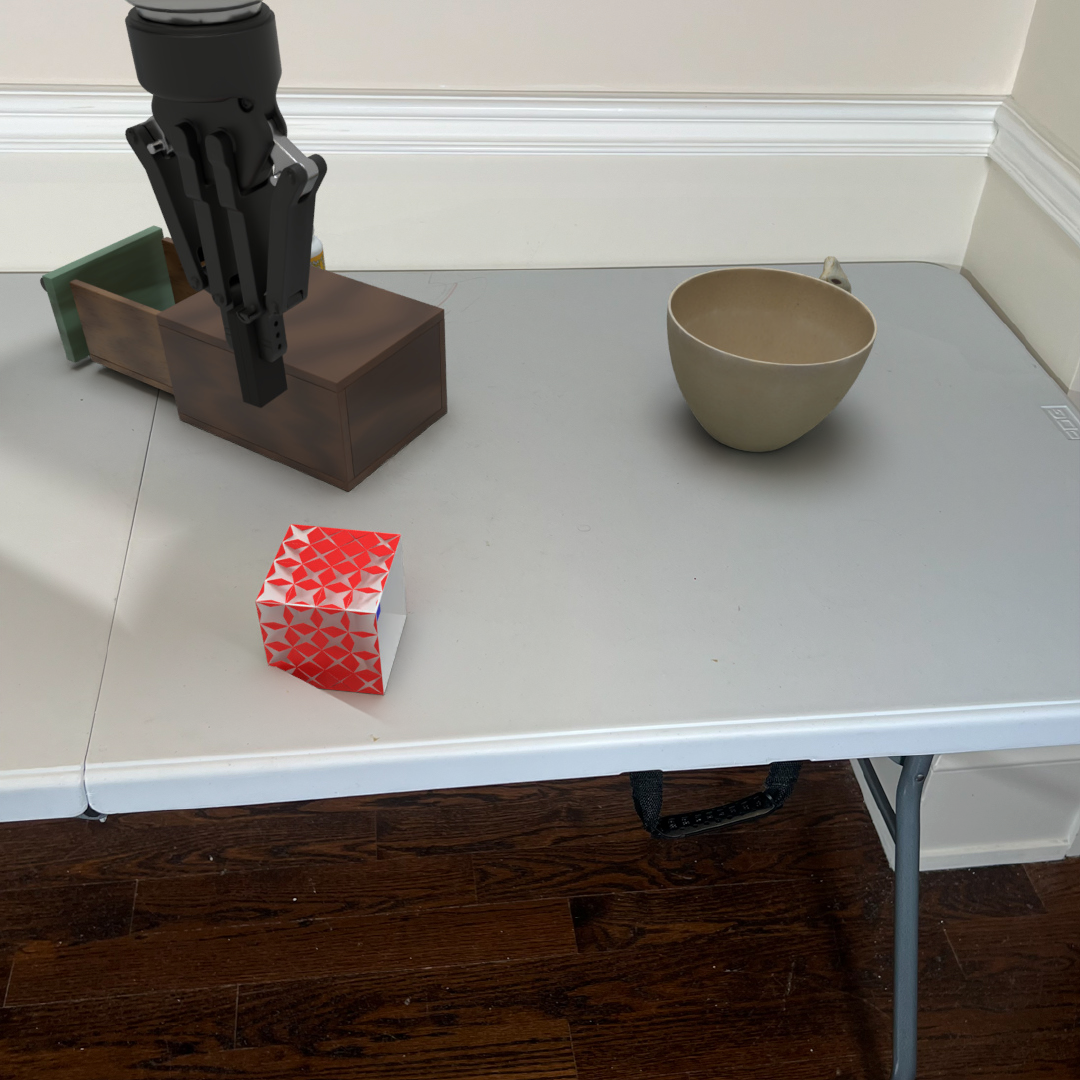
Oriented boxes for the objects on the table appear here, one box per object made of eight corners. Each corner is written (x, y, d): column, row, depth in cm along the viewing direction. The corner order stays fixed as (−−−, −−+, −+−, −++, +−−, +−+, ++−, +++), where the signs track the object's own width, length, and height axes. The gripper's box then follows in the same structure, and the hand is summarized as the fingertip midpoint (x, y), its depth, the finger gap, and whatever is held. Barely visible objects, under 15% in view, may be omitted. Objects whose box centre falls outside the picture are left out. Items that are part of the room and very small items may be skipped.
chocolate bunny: (860, 344, 110) (883, 257, 104) (808, 364, 107) (829, 275, 100) (822, 323, 114) (842, 236, 107) (770, 341, 110) (788, 253, 104)
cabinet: (179, 419, 95) (155, 314, 88) (287, 352, 105) (273, 252, 98) (348, 492, 88) (336, 383, 81) (447, 411, 98) (444, 308, 91)
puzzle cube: (303, 604, 77) (290, 523, 72) (407, 614, 77) (401, 533, 72) (271, 684, 71) (254, 602, 66) (383, 696, 71) (375, 614, 66)
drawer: (32, 345, 103) (5, 261, 97) (137, 292, 112) (118, 213, 106) (207, 418, 94) (189, 331, 88) (306, 355, 103) (295, 272, 97)
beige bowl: (871, 483, 91) (907, 364, 84) (670, 486, 90) (687, 365, 82) (816, 376, 105) (842, 265, 97) (640, 377, 104) (653, 264, 96)
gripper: (50, 0, 53) (151, 394, 68) (247, 40, 48) (307, 453, 63) (158, -26, 58) (229, 345, 73) (345, 7, 53) (379, 396, 69)
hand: (265, 395), depth 68 cm, fingers closed
